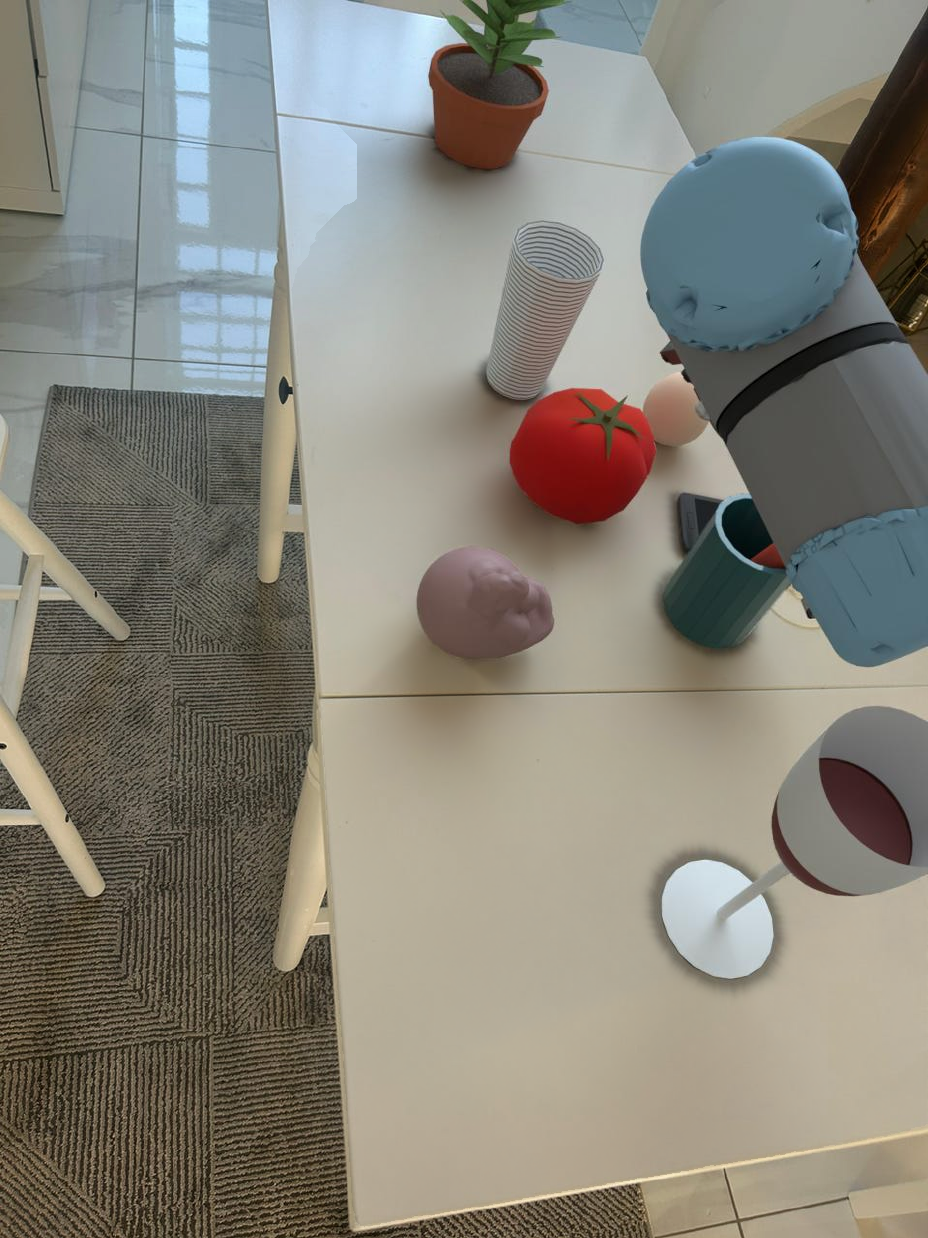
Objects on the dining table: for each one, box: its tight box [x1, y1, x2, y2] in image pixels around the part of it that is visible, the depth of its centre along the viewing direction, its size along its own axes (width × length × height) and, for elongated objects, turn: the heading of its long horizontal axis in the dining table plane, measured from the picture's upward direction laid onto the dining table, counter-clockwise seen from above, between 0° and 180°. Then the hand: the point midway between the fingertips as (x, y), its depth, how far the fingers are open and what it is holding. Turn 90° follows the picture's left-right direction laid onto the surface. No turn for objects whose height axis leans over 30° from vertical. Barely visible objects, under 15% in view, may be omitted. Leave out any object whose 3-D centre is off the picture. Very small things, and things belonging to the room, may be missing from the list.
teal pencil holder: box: [662, 492, 792, 650], centre depth 83 cm, size 8×8×11 cm
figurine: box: [416, 546, 555, 661], centre depth 76 cm, size 9×11×12 cm
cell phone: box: [677, 492, 725, 554], centre depth 94 cm, size 7×14×1 cm, turn 87°
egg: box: [641, 371, 710, 447], centre depth 97 cm, size 7×7×8 cm
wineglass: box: [661, 705, 928, 980], centre depth 62 cm, size 9×10×23 cm
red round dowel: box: [751, 543, 786, 569], centre depth 81 cm, size 2×2×15 cm
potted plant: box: [428, 0, 573, 170], centre depth 111 cm, size 15×15×30 cm
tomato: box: [509, 387, 658, 525], centre depth 88 cm, size 13×12×11 cm
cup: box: [485, 220, 605, 401], centre depth 93 cm, size 8×8×16 cm
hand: (795, 467), depth 68 cm, fingers open, 13 cm apart
